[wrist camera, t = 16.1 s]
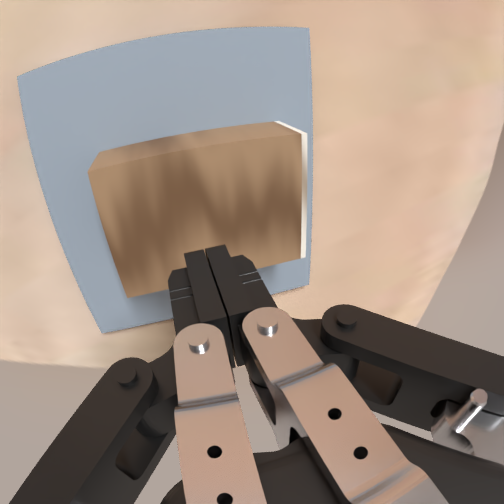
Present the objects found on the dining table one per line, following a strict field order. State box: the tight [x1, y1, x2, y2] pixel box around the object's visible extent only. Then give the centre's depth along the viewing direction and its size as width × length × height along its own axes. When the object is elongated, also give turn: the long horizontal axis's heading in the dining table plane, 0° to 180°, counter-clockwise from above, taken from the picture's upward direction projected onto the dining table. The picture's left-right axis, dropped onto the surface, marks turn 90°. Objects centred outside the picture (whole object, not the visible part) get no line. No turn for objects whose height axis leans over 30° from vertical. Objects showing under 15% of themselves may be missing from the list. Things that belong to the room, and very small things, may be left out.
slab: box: [88, 121, 307, 298], centre depth 16 cm, size 7×4×10 cm
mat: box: [17, 27, 313, 333], centre depth 18 cm, size 18×16×1 cm
